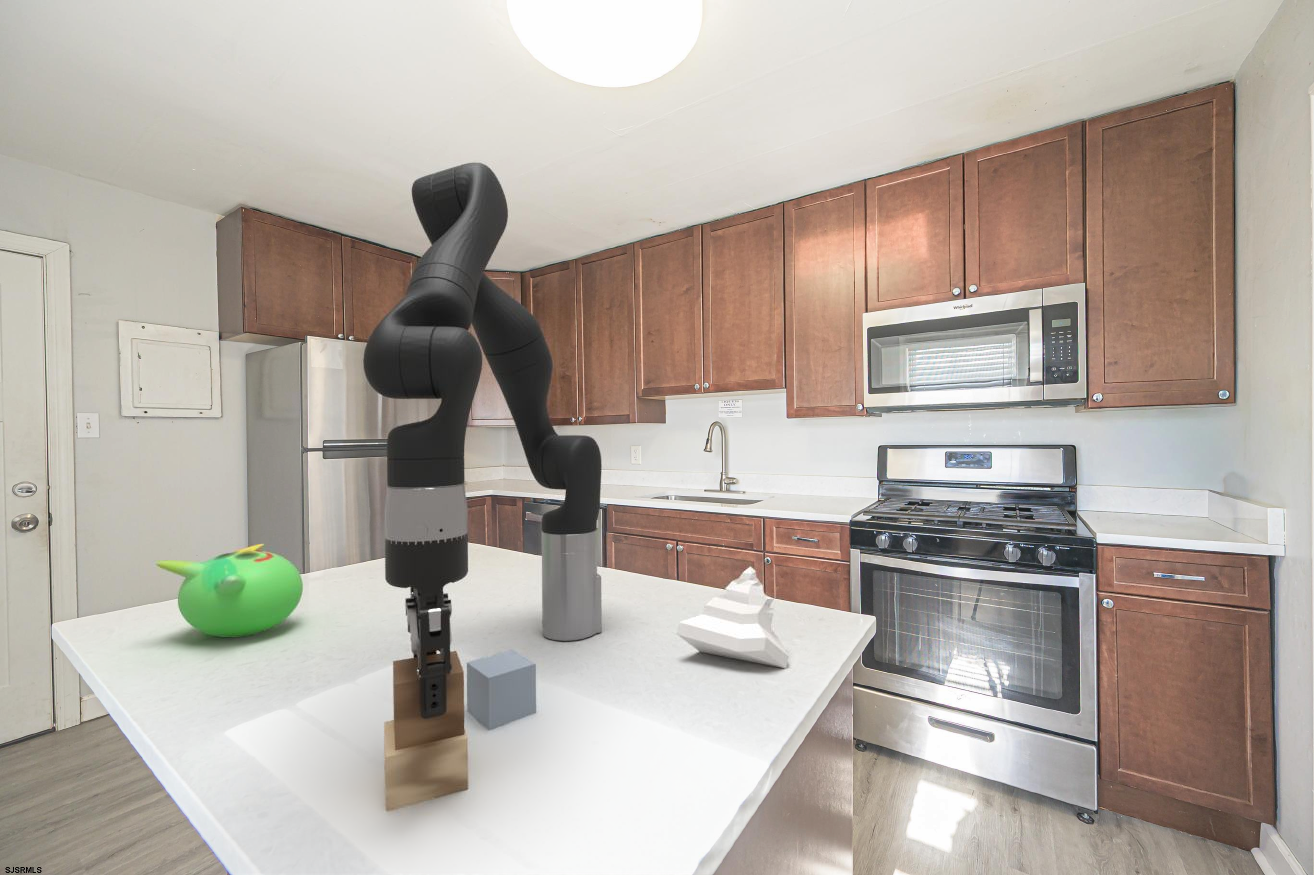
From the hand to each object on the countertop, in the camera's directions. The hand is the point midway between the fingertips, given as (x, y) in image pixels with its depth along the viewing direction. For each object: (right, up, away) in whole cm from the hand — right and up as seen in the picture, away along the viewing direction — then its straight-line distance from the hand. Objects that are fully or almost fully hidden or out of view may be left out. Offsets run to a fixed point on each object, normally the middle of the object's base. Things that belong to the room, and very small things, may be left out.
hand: (429, 696), depth 56 cm
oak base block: (0, -8, -1) cm, 8 cm away
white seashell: (+35, -8, +30) cm, 46 cm away
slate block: (+4, -8, +13) cm, 16 cm away
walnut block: (0, -3, 0) cm, 3 cm away
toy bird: (-48, -8, +41) cm, 64 cm away
